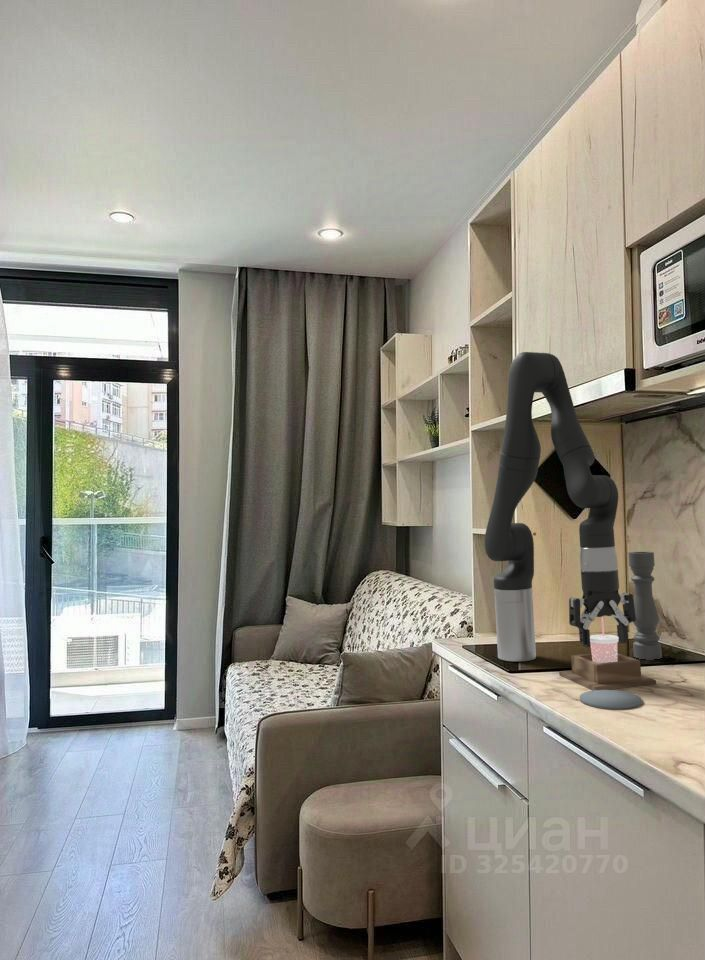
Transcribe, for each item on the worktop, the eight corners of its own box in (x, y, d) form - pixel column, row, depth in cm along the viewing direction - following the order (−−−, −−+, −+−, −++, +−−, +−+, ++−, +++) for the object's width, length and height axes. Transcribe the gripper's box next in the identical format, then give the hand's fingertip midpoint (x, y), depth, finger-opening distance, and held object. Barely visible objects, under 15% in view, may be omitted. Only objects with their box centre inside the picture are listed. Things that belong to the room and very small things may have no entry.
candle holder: (663, 655, 164) (656, 551, 165) (660, 661, 159) (653, 553, 160) (635, 653, 167) (629, 551, 168) (631, 659, 162) (625, 553, 163)
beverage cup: (610, 684, 141) (606, 616, 141) (584, 679, 146) (580, 613, 146) (627, 679, 144) (623, 612, 145) (601, 674, 149) (597, 610, 150)
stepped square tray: (559, 675, 150) (558, 654, 150) (616, 669, 153) (614, 648, 153) (594, 691, 137) (593, 668, 137) (656, 684, 140) (654, 661, 140)
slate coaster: (569, 696, 134) (568, 693, 134) (619, 690, 136) (618, 687, 136) (600, 712, 123) (600, 708, 123) (654, 705, 125) (654, 702, 125)
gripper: (618, 565, 151) (623, 639, 150) (559, 569, 148) (564, 644, 147) (639, 567, 144) (645, 644, 143) (578, 571, 141) (583, 651, 140)
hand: (604, 644), depth 145 cm, fingers open, 8 cm apart
